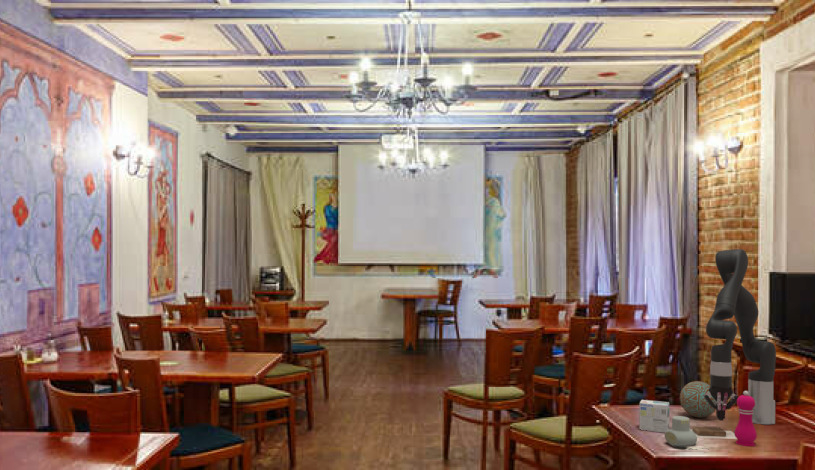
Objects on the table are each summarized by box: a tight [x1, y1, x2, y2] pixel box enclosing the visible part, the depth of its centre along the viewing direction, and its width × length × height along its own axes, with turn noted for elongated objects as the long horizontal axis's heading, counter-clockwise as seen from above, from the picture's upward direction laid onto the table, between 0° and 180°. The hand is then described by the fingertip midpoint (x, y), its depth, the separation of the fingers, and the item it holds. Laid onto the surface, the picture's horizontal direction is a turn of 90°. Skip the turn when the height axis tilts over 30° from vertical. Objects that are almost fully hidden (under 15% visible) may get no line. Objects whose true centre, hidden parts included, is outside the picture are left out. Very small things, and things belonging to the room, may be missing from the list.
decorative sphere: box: [679, 380, 716, 419], centre depth 303 cm, size 15×15×15 cm
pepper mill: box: [734, 390, 758, 447], centre depth 258 cm, size 7×7×20 cm
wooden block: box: [692, 425, 726, 436], centre depth 271 cm, size 2×7×10 cm
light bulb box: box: [638, 399, 670, 434], centre depth 281 cm, size 11×7×11 cm, turn 65°
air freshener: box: [664, 415, 698, 449], centre depth 258 cm, size 11×8×10 cm
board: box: [690, 428, 738, 440], centre depth 271 cm, size 20×12×1 cm, turn 84°
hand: (720, 419), depth 270 cm, fingers closed
